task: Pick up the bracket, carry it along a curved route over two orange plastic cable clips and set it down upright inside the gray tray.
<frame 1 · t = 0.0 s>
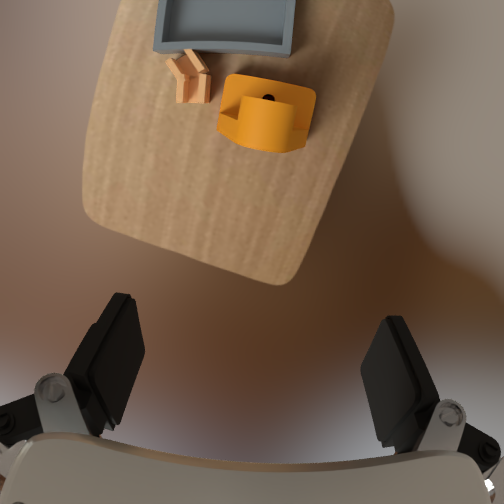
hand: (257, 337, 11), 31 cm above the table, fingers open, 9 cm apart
clip 1: (196, 89, 34), on the table
bracket: (266, 108, 35), on the table
gray tray: (227, 12, 29), on the table
clip 2: (190, 67, 32), on the table
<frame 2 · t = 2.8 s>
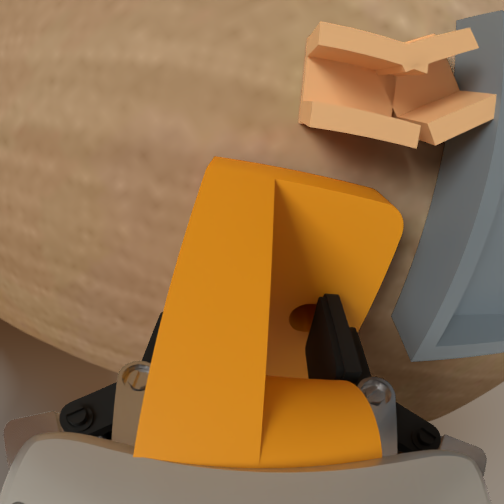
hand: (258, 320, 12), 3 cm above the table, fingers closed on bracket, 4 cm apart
clip 1: (347, 87, 10), on the table
bracket: (278, 276, 15), on the table, touching gripper
clip 2: (415, 82, 10), on the table
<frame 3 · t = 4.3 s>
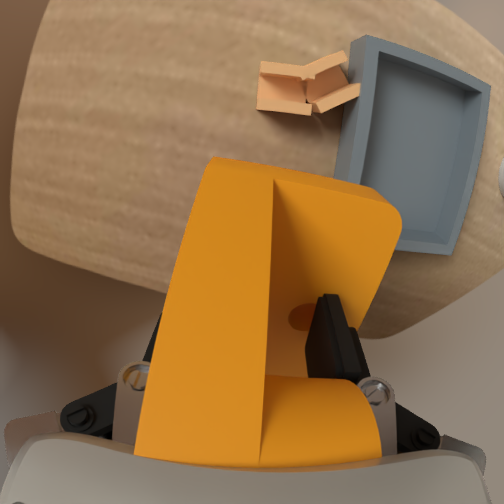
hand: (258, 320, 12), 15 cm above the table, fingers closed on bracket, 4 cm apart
clip 1: (281, 89, 20), on the table
bracket: (277, 275, 15), point 11 cm above the table, touching gripper
gray tray: (404, 148, 22), on the table
clip 2: (321, 82, 20), on the table
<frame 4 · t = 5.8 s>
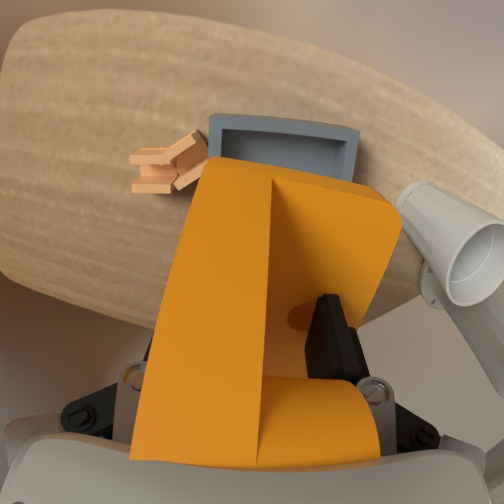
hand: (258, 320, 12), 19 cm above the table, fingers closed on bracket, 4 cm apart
clip 1: (160, 165, 27), on the table
bracket: (276, 275, 15), point 15 cm above the table, touching gripper
gray tray: (274, 201, 29), on the table
cup: (419, 207, 29), on the table
clip 2: (191, 155, 26), on the table
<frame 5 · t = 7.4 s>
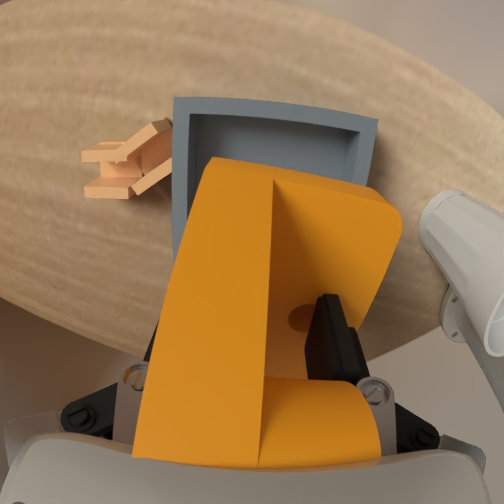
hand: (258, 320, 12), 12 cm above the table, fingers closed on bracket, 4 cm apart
clip 1: (123, 163, 21), on the table
bracket: (277, 276, 15), point 9 cm above the table, touching gripper
gray tray: (264, 210, 22), on the table
cup: (447, 222, 22), on the table
clip 2: (159, 151, 20), on the table
when the fingers open (6 cm above the table, at t = 8.9 s): bracket drops 1 cm, resting on gray tray.
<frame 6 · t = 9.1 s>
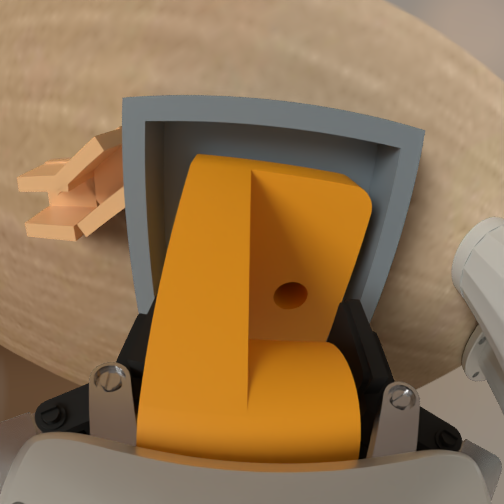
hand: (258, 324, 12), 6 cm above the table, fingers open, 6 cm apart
clip 1: (75, 188, 15), on the table
bracket: (262, 260, 16), point 1 cm above the table, touching gray tray, gripper
gray tray: (259, 249, 17), on the table
cup: (483, 256, 17), on the table
clip 2: (117, 171, 15), on the table
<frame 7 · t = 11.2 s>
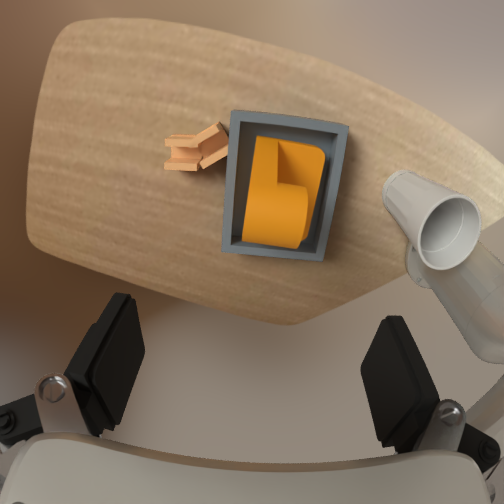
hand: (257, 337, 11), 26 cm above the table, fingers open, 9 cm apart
clip 1: (187, 149, 33), on the table
bracket: (281, 185, 34), point 1 cm above the table, touching gray tray
gray tray: (280, 182, 35), on the table
cup: (403, 192, 35), on the table
clip 2: (213, 142, 33), on the table
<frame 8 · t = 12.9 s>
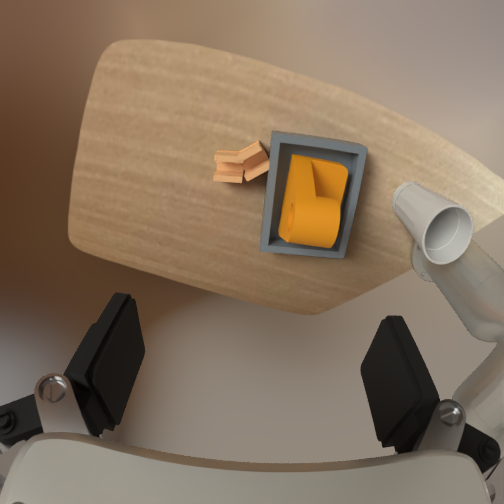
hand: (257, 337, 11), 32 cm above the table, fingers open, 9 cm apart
clip 1: (230, 163, 40), on the table
bracket: (310, 194, 41), point 1 cm above the table, touching gray tray
gray tray: (308, 192, 41), on the table
cup: (409, 200, 41), on the table
clip 2: (253, 158, 39), on the table
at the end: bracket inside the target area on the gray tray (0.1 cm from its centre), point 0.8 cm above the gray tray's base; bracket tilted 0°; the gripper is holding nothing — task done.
